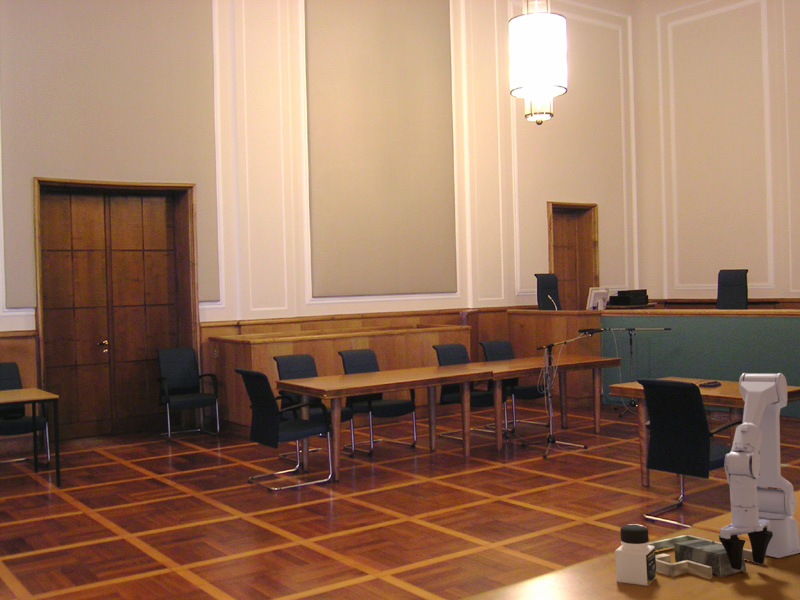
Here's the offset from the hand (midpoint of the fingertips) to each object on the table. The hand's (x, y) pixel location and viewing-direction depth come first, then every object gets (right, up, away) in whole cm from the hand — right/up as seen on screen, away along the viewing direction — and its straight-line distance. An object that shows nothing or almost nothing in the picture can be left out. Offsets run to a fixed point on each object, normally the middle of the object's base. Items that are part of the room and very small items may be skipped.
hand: (747, 565), depth 185 cm
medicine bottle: (-25, -3, -1) cm, 25 cm away
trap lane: (-9, -3, +11) cm, 15 cm away
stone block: (-6, -3, +7) cm, 9 cm away
